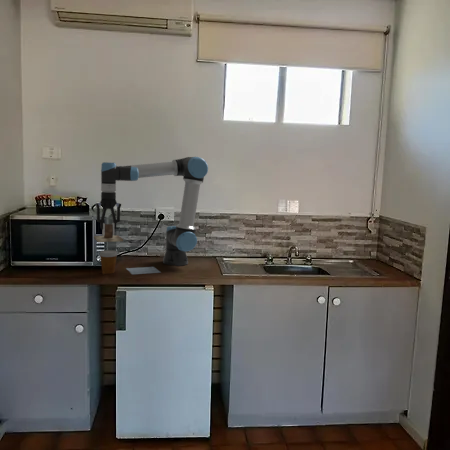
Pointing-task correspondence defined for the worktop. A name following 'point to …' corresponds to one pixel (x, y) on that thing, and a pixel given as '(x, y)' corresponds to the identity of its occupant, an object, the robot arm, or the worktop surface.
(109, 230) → the lid
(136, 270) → the mat
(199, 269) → the worktop surface
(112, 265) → the disposable coffee cup
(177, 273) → the worktop surface
